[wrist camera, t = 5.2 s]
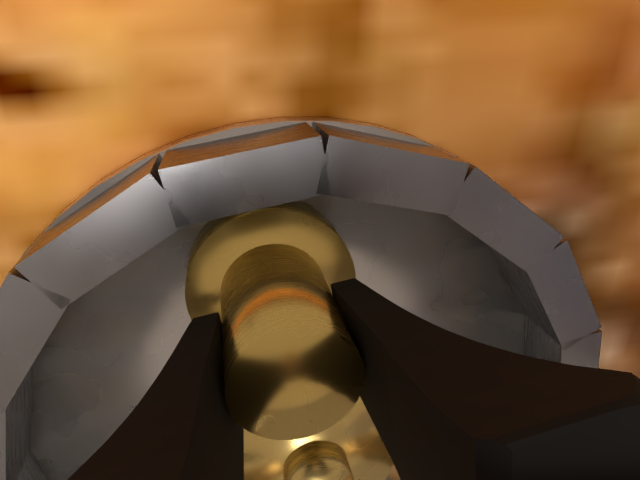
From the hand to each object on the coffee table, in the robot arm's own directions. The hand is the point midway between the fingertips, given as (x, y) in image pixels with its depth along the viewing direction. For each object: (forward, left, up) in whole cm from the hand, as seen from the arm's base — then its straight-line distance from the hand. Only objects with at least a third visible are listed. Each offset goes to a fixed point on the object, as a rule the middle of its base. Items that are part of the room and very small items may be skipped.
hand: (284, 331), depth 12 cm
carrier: (0, +5, -4) cm, 7 cm away
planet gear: (0, 0, -3) cm, 3 cm away
